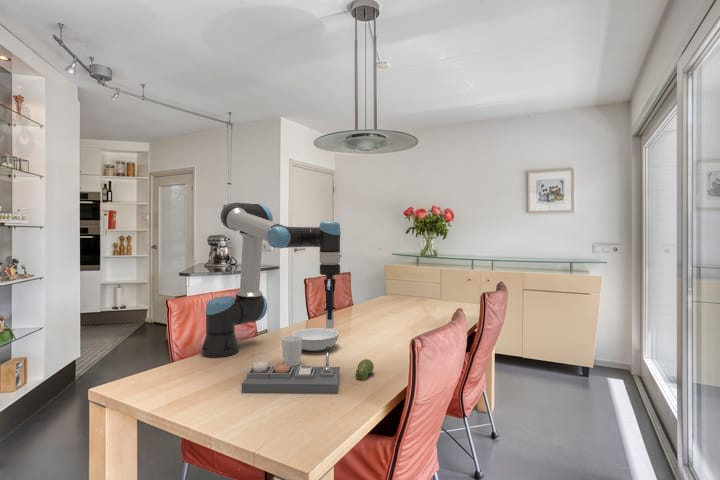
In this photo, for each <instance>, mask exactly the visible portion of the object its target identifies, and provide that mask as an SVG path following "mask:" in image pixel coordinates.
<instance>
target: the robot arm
mask: <svg viewBox="0 0 720 480" xmlns="http://www.w3.org/2000/svg"><path fill="white" fill-rule="evenodd" d="M273 218H274V217H273V213H272V210H270V208H269V207H268V206H267V205H265V204H261V203H260V204H259V203H247V202H246V203H245V202H232V203H229V204H227V205H225V206H224V207H223V208H222V210H221V212H220V222H221V223H222V225H223V226H224V227H225V228H227V229H229V230H231V231H234V232H238V231H239V234H240V235H241V236H242V247H241V263H240V264H241V265H240V279H239V281H240V283H239V290H237V292H235V293H236V294H235V296H233V295H225V296H223V295H222V296H217V297H214V298H212V299H210V300H208V301H207V303H206V305H205V332H206V333H205V338H204V341H203V344H202V347H201V355H202V356H203V357H204V358H226V357H230V356H234V355H235V354H237V353H239V351H240V345H239V342H238V339H237V335H236V333H235V332H236V331H235V330H236V326H240V325H244V324H249V323H255V322H257V321H260V320H262V319H263V318H264V317H265V316H266V314H267V310H268V302H267V299H266V298H265V296H264V295H263V292H262V291H261V290H260V286H261V285H260V283H261V273H262V271H261V269H262V253H263V241H266V242H267V244H269V246H270V247H271V248H274V249H286V248H289V249H290V248H319V263H320V264H319V274H320V275H321V276H325V277H326V278H325V279H324V281H323V285H324V292H325V308H324V309H323V311H324V312H325V329H334V328H335V327H334V325H335V323H334V322H335V318H334V317H335V315H334V313H335V312H334V310H336V307H335V303H334V302H335V290H336V282H337V281H336V279H335V278H334V277H335V276H338V275H340V274H341V265H340V262H341V258H342V257H343V255H342V254H341V235H342V233H341V225H340V222H338V221H321V222H320V223H319V226H311V227H309V226H307V227H306V226H286V225H283V224H281V223H277V222H274V219H273Z"/></svg>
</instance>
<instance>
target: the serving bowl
mask: <svg viewBox="0 0 720 480" xmlns="http://www.w3.org/2000/svg"><path fill="white" fill-rule="evenodd" d="M291 336H300V337H302V350H303V351H304V350H305V351H308V352H321V351H324V350H325V348H326V347H327V346H329V347H330V348H332V347H333V346H335V344H336V343H337V342H338V339H339V332H338V331H337V330H336V329H335V330H334V329H333V328H326V327H325V328H323V327H322V328H321V327H311V328H303V329H298V330H295V331H293V332H292V334H291Z"/></svg>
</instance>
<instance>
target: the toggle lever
mask: <svg viewBox="0 0 720 480" xmlns="http://www.w3.org/2000/svg"><path fill="white" fill-rule="evenodd" d="M331 348H332V347H329V346H327V347H326V348H325V366H323V367H324V368H323V372H331V367H332V366H330V352H331V351H332V349H331Z"/></svg>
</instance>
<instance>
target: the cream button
mask: <svg viewBox="0 0 720 480" xmlns="http://www.w3.org/2000/svg"><path fill="white" fill-rule="evenodd" d="M252 366H253V372H255V373H263V372H266V371H268V366H269V362H268V361H267V360H264V359H263V360H255V361H254V362H253V363H252Z"/></svg>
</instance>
